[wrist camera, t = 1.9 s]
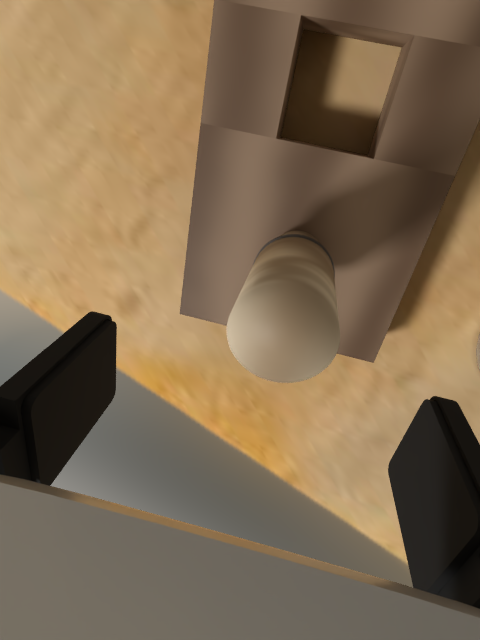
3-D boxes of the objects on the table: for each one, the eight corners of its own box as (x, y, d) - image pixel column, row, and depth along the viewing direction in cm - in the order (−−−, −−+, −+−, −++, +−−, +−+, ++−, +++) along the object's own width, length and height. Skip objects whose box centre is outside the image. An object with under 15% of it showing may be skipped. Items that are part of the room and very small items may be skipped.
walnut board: (528, -47, 17) (566, -79, 15) (368, 340, 28) (373, 362, 25) (241, -93, 18) (228, -129, 16) (192, 297, 29) (179, 313, 27)
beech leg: (342, 230, 22) (358, 299, 13) (320, 298, 24) (322, 395, 15) (268, 213, 22) (235, 270, 13) (253, 281, 24) (217, 367, 16)
